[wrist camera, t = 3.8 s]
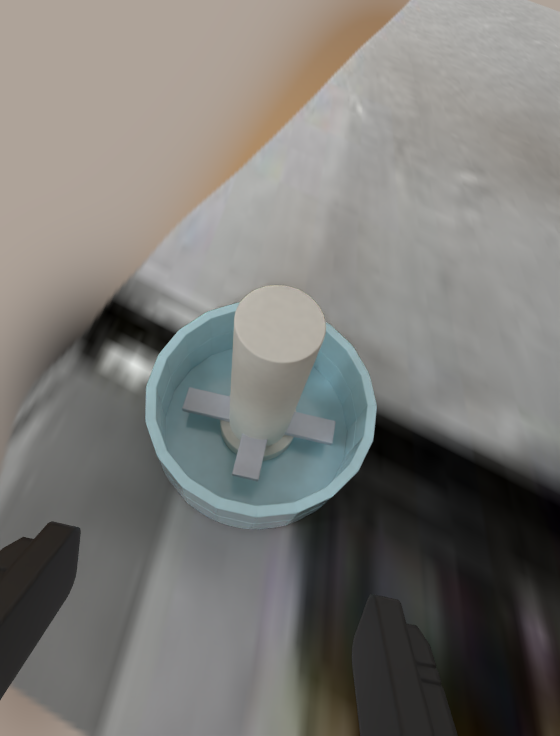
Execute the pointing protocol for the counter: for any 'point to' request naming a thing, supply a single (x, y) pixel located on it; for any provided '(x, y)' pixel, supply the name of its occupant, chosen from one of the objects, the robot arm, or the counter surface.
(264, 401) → the blade
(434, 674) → the robot arm
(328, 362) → the processor bowl
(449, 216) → the counter surface
